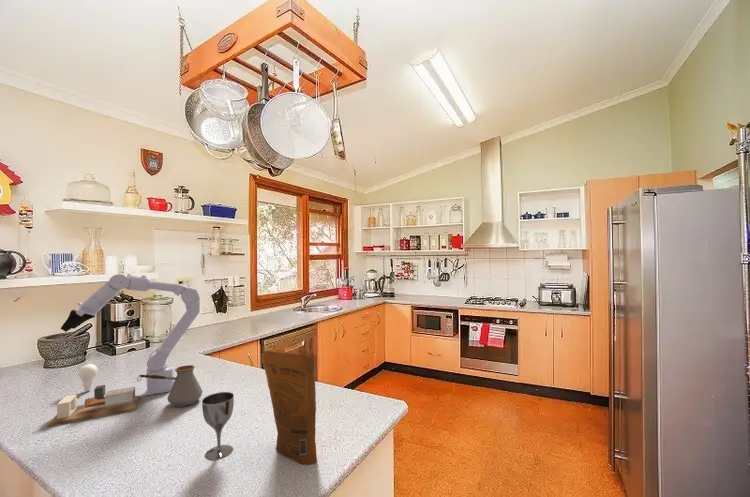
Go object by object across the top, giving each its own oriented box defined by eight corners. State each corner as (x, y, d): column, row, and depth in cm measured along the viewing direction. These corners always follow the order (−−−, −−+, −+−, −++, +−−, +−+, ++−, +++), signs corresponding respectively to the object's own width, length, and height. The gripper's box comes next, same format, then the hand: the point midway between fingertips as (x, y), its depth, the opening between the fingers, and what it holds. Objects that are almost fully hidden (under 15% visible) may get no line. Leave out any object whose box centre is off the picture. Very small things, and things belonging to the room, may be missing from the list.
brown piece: (133, 397, 125) (132, 380, 125) (131, 400, 122) (131, 383, 122) (87, 405, 119) (87, 387, 119) (84, 409, 116) (84, 390, 116)
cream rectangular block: (76, 408, 119) (76, 394, 119) (69, 416, 113) (69, 402, 113) (65, 410, 118) (65, 396, 118) (57, 419, 112) (57, 404, 112)
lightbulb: (86, 394, 134) (86, 367, 134) (74, 393, 135) (73, 366, 135) (101, 388, 140) (101, 362, 140) (89, 387, 141) (89, 361, 141)
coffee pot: (192, 393, 132) (191, 355, 133) (208, 399, 126) (208, 360, 127) (130, 416, 114) (130, 372, 115) (146, 424, 108) (145, 378, 109)
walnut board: (140, 397, 130) (140, 395, 130) (133, 410, 119) (133, 407, 119) (63, 411, 119) (63, 408, 119) (48, 426, 109) (48, 423, 109)
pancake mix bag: (308, 474, 82) (305, 360, 82) (260, 449, 93) (259, 349, 93) (327, 460, 87) (325, 353, 88) (280, 438, 98) (278, 343, 99)
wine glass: (210, 445, 96) (209, 392, 96) (238, 443, 96) (237, 391, 97) (197, 462, 88) (196, 405, 88) (228, 460, 88) (227, 403, 89)
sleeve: (135, 399, 126) (135, 386, 126) (132, 404, 122) (132, 391, 122) (108, 403, 122) (108, 390, 122) (105, 409, 118) (105, 395, 118)
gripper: (95, 292, 133) (64, 319, 128) (83, 293, 120) (48, 324, 115) (111, 303, 135) (81, 330, 130) (101, 305, 122) (67, 336, 117)
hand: (67, 328), depth 123 cm, fingers open, 7 cm apart
